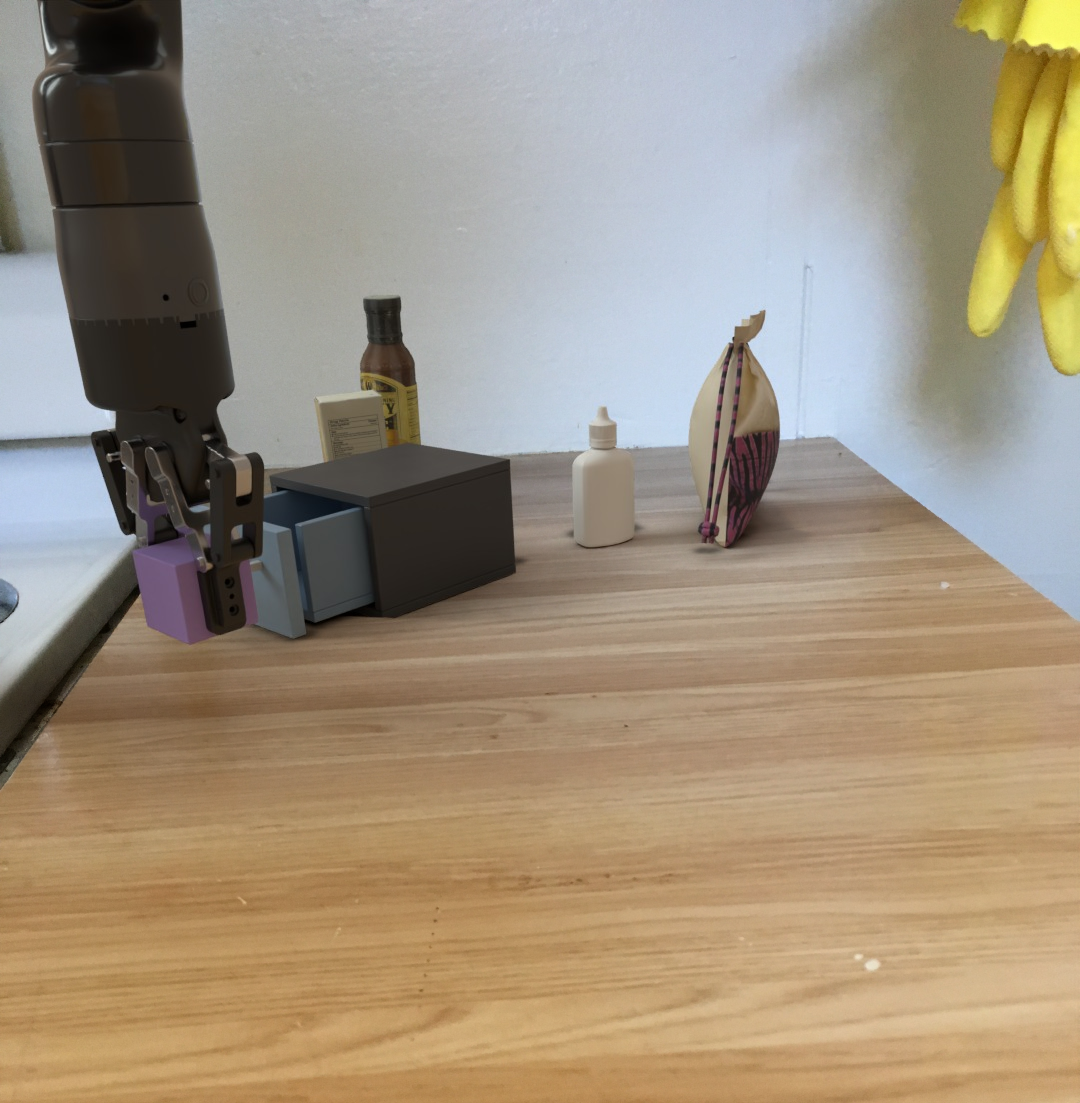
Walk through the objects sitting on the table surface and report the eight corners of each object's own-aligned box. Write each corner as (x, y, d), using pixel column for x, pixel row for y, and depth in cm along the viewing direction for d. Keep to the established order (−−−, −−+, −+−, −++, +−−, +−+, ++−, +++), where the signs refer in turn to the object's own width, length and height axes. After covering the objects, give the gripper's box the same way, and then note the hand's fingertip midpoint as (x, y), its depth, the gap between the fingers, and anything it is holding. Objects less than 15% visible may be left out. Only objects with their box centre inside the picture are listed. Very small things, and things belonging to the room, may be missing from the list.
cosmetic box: (389, 509, 111) (377, 388, 106) (398, 519, 107) (385, 394, 102) (328, 516, 109) (312, 394, 104) (334, 527, 105) (318, 400, 100)
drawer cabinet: (383, 622, 81) (368, 497, 76) (286, 590, 88) (268, 475, 84) (516, 572, 90) (510, 459, 86) (418, 547, 98) (408, 442, 94)
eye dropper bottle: (573, 535, 99) (569, 403, 94) (633, 532, 99) (632, 400, 94) (574, 549, 95) (570, 412, 90) (636, 546, 95) (636, 409, 90)
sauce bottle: (358, 482, 122) (337, 297, 114) (397, 471, 127) (379, 292, 118) (397, 489, 119) (378, 298, 110) (436, 477, 123) (421, 293, 114)
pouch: (772, 563, 89) (785, 323, 81) (673, 561, 91) (677, 325, 83) (777, 490, 111) (788, 295, 103) (698, 489, 113) (702, 297, 105)
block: (189, 645, 59) (174, 565, 57) (146, 626, 61) (131, 550, 59) (259, 622, 62) (248, 545, 60) (215, 605, 64) (203, 531, 62)
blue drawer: (223, 664, 72) (202, 553, 69) (139, 628, 79) (117, 525, 76) (433, 588, 84) (425, 491, 81) (345, 563, 91) (333, 472, 88)
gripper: (11, 305, 56) (81, 611, 63) (152, 319, 47) (214, 671, 55) (141, 294, 61) (193, 578, 68) (291, 304, 52) (331, 629, 60)
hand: (202, 618), depth 61 cm, fingers closed on block, 4 cm apart
